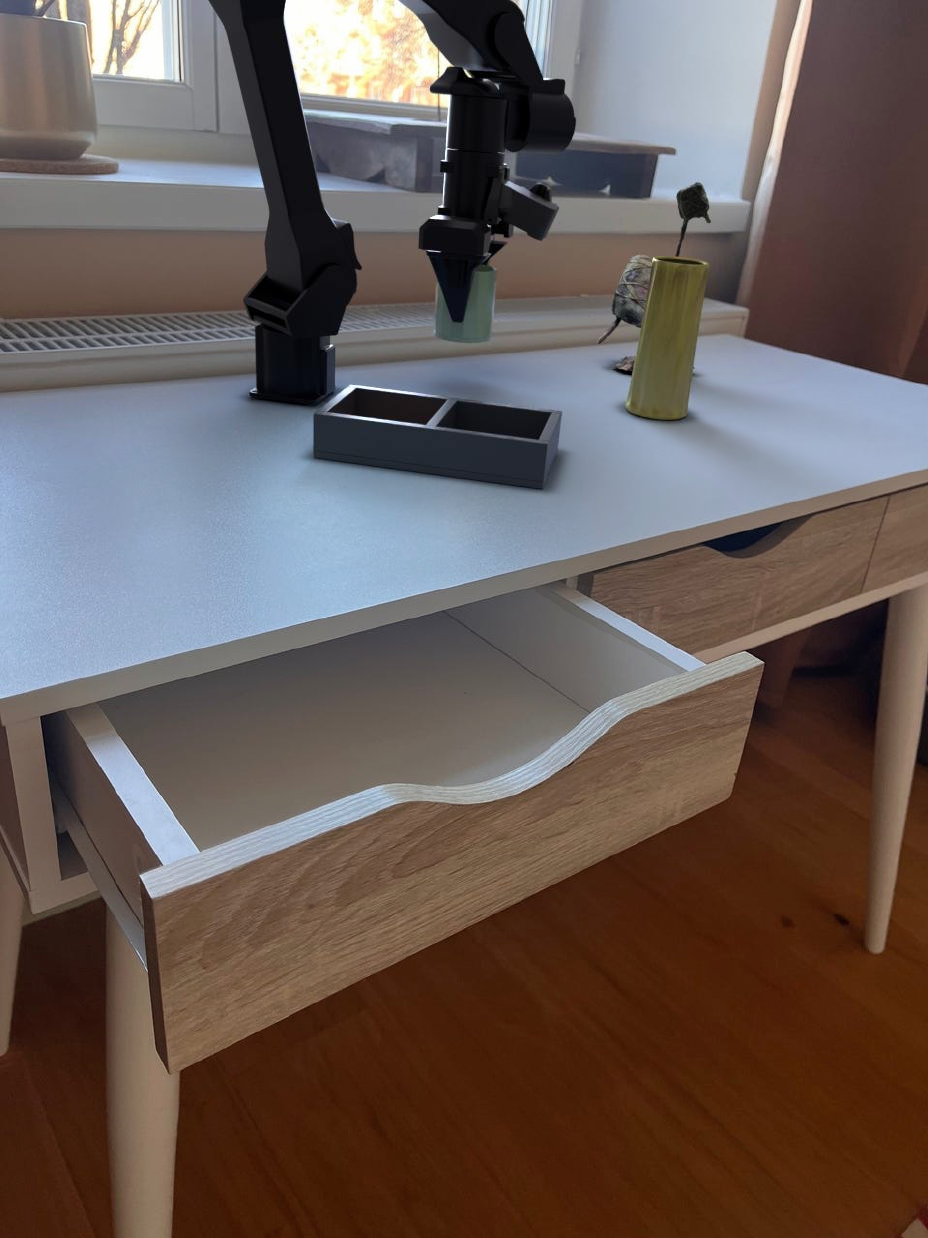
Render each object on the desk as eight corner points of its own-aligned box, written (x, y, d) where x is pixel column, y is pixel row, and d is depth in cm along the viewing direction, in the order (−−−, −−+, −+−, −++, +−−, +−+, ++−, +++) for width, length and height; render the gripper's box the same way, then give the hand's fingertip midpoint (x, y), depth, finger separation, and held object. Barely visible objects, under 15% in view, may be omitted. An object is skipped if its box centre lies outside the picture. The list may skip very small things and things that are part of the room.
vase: (686, 423, 96) (715, 267, 89) (623, 415, 97) (646, 260, 90) (687, 407, 101) (713, 259, 94) (626, 400, 102) (648, 252, 95)
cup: (427, 338, 102) (431, 267, 99) (440, 328, 107) (444, 259, 104) (485, 345, 101) (491, 273, 98) (495, 334, 107) (501, 265, 103)
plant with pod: (618, 354, 121) (643, 174, 112) (703, 374, 115) (738, 185, 106) (582, 364, 115) (606, 174, 106) (670, 385, 109) (704, 186, 100)
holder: (542, 489, 76) (547, 443, 75) (313, 457, 79) (313, 413, 77) (557, 452, 85) (562, 411, 83) (349, 425, 88) (350, 384, 86)
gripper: (545, 161, 87) (527, 343, 94) (568, 154, 103) (551, 310, 110) (421, 150, 89) (412, 330, 96) (463, 145, 105) (453, 299, 112)
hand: (463, 316), depth 103 cm, fingers closed on cup, 6 cm apart
